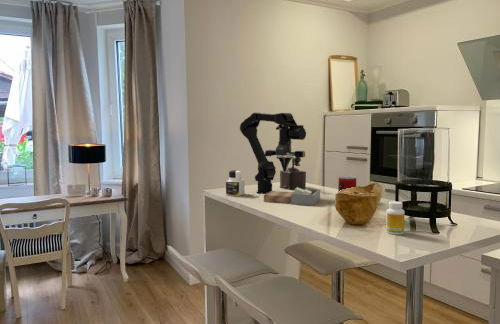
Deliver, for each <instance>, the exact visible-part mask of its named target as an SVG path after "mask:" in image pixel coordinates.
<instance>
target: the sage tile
mask: <svg viewBox="0 0 500 324" xmlns="http://www.w3.org/2000/svg"><path fill="white" fill-rule="evenodd" d="M293 192H294V193H293V194H303V192H304V190H303V189H300V188H298V187H297V188H295V190H293Z"/></svg>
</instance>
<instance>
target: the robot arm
mask: <svg viewBox="0 0 500 324" xmlns="http://www.w3.org/2000/svg"><path fill="white" fill-rule="evenodd" d="M261 121H262V122H273V123H275V124H277V127H275V130H278V133H279V134H278V135H279V137H278V144H277V146H276V147H275V149H267V150H265V152H264V149H263V147H262V145H261V142H260V139H259V138H258V127H259V125H260V122H261ZM239 131H240V132H241V134H242V136H244V137H245V138H246V139H247V140H248V144H250V147H251V149H252V152H253V154H254V157H255V159H256V161H257V171H258V172H257V173H256V174H255V175H254V180H255V182H257V191H256V193H257V194H267V193H268V192H270V191H273V183H272V181H273V180H274V178H275V175H276V173H277V171H276V166H275V164H274V161H270V160H268V159H267V157H272V156H276V157H275V158H276V159H277V160H278V161H279V162H280V165H281V167H282V168H281V169H282V171H286V170H287V169H288V168H289V164H290V162H291V161H292V158H294V157H300V158H305V157H306V151H304V150H294V151H292V142H293V141H292V140H297V141H298V140H300V141H304V140H305V139H306V136H307V131H306V129H305V128H304V124H300V125H299V124H297V121H296V120H295V118H294V116H293V113H292V112H280V113H279V112H278V113H277V112H276V113H263V112H262V113H261V112H257V111H256V112H253V113H251V114H250V116H248V117H247V118H245V119H244V120H243V121H242V122H241V123H240V126H239Z"/></svg>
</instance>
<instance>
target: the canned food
mask: <svg viewBox="0 0 500 324" xmlns="http://www.w3.org/2000/svg"><path fill="white" fill-rule="evenodd" d="M337 186H338V188H337V189H338V192H339V191H340V190H342V189H346V188H351V187H356V188H357V176H356V175H345V174H343V175H339V176H338V185H337ZM338 192H337V193H338Z"/></svg>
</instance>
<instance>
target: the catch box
mask: <svg viewBox="0 0 500 324" xmlns="http://www.w3.org/2000/svg"><path fill="white" fill-rule="evenodd" d="M306 189H307V190H309V191H311V192H312V193H311V195H309V194H291V203H290V204H291V205H299V206H316V204H317V203H318V202H320V200H321V189H313V188H305V189H303V190H306Z"/></svg>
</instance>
